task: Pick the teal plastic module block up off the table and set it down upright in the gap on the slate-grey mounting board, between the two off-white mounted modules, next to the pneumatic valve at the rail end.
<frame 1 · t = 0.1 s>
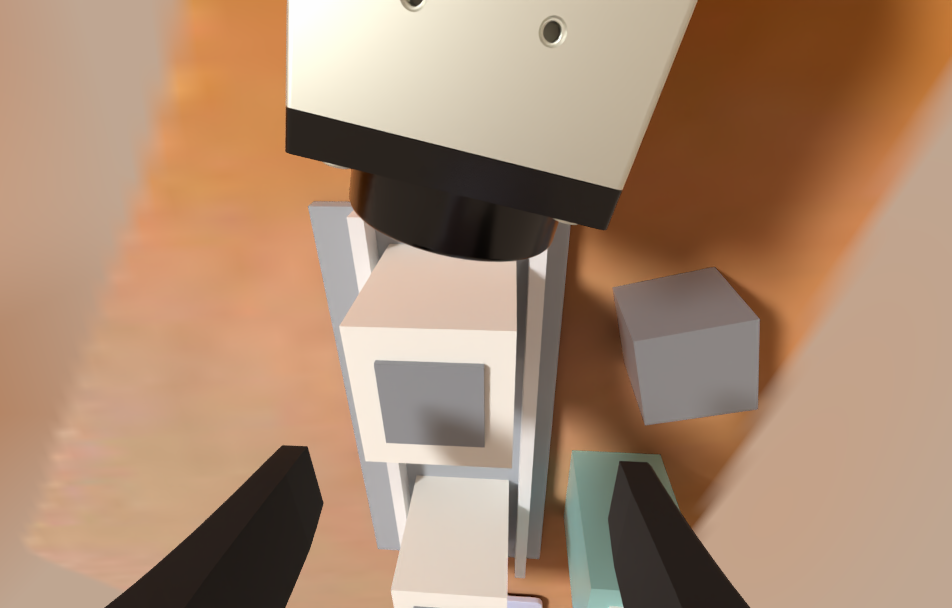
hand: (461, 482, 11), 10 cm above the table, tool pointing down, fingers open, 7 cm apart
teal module: (608, 487, 25), on the table
dark loose block: (665, 317, 20), on the table
mounting board: (451, 414, 23), on the table
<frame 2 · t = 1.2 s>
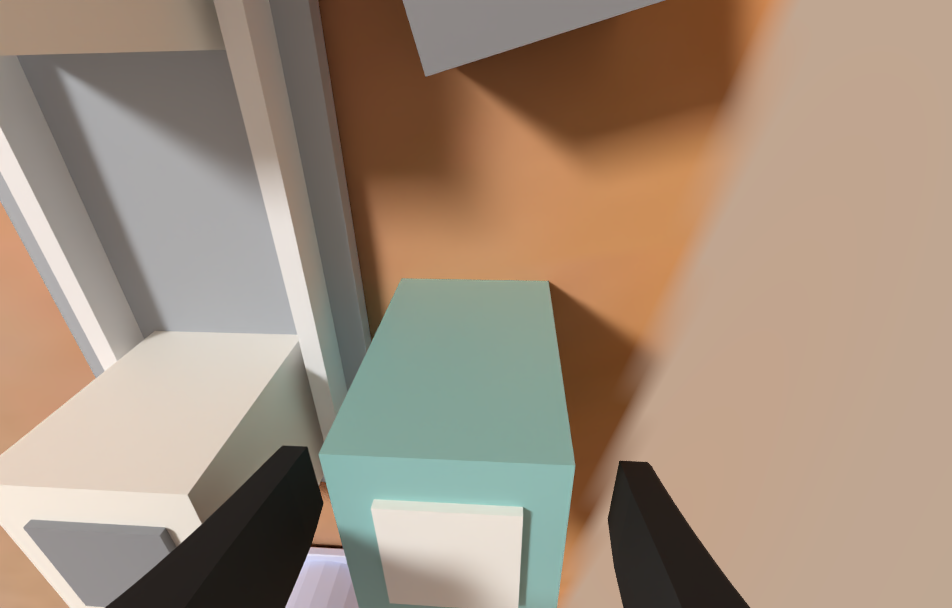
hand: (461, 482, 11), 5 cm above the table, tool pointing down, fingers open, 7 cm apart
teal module: (475, 352, 15), on the table
mounting board: (183, 206, 13), on the table
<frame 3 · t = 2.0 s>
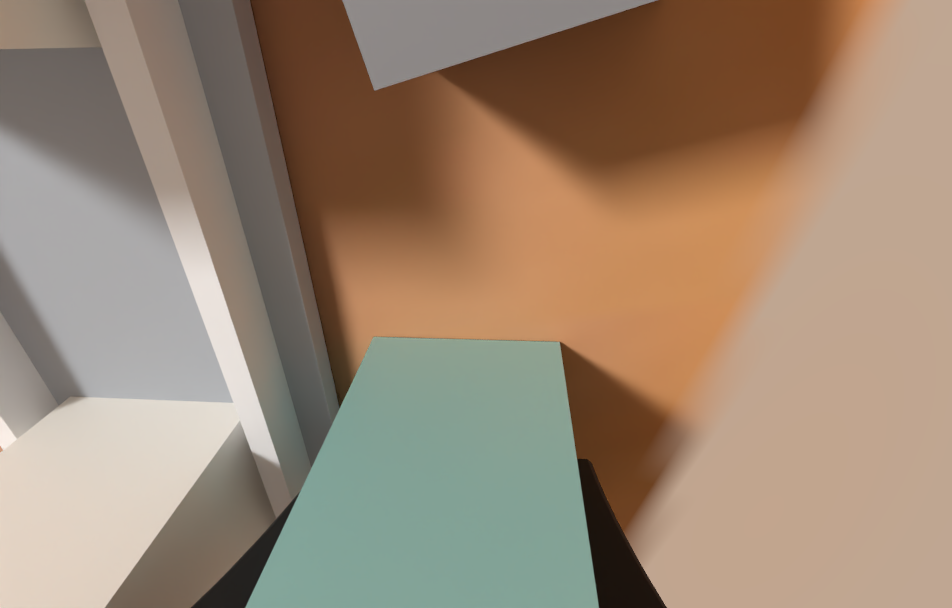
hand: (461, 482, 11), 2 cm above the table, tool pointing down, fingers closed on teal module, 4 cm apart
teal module: (468, 423, 12), on the table, touching gripper
mounting board: (93, 248, 11), on the table
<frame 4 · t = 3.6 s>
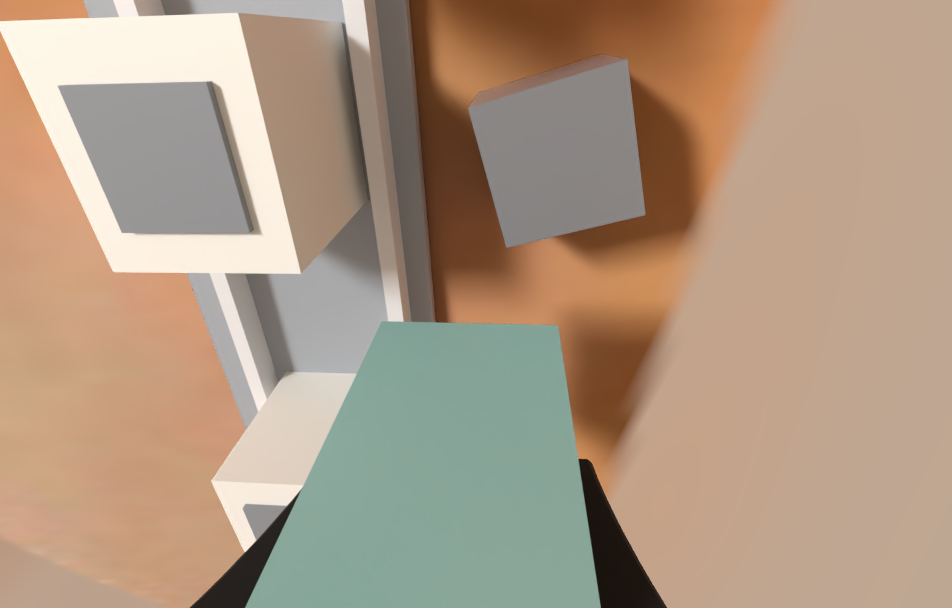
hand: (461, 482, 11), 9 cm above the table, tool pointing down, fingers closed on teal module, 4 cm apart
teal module: (471, 405, 13), point 7 cm above the table, touching gripper
dark loose block: (550, 136, 16), on the table
mounting board: (315, 288, 19), on the table
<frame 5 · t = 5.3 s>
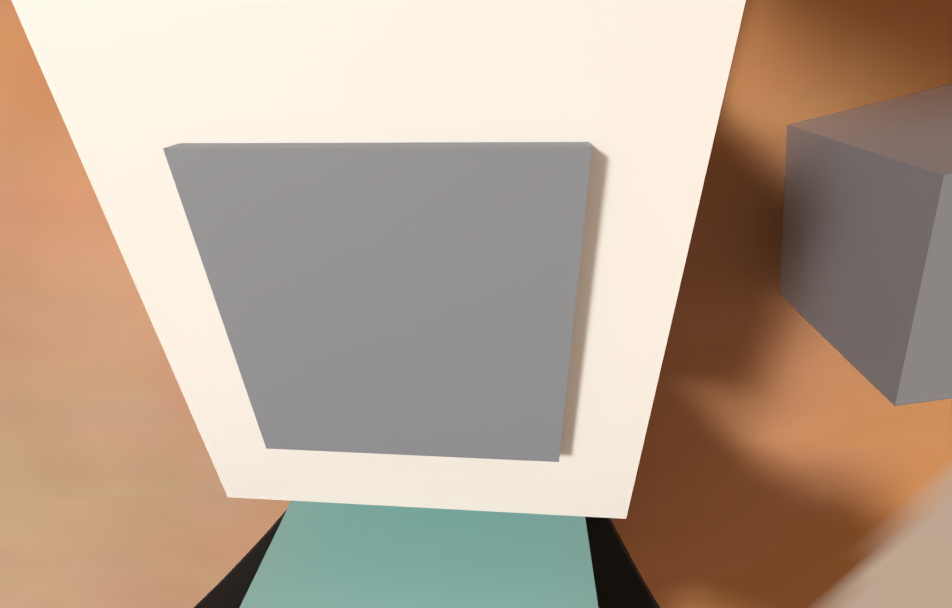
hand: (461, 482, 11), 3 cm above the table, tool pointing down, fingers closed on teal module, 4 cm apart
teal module: (468, 407, 13), point 1 cm above the table, touching gripper, mounting board
dark loose block: (882, 194, 10), on the table
mounting board: (454, 396, 13), on the table
when the fingers open (3 cm above the table, at t = 5.7 s): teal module stays where it is, resting on mounting board.
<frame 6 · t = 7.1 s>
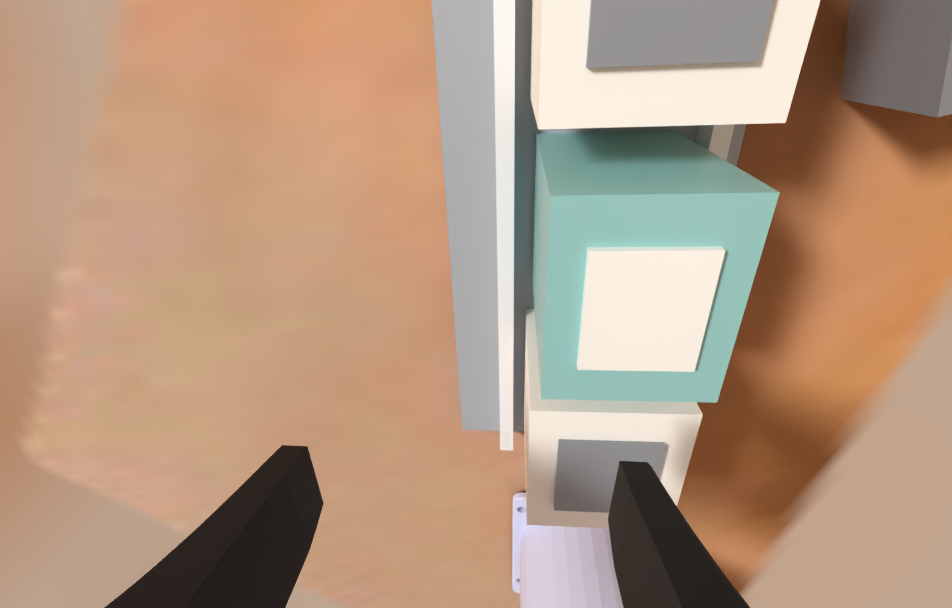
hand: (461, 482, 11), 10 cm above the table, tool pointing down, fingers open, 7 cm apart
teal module: (596, 211, 17), point 1 cm above the table, touching mounting board
dark loose block: (920, 8, 14), on the table
mounting board: (580, 209, 17), on the table
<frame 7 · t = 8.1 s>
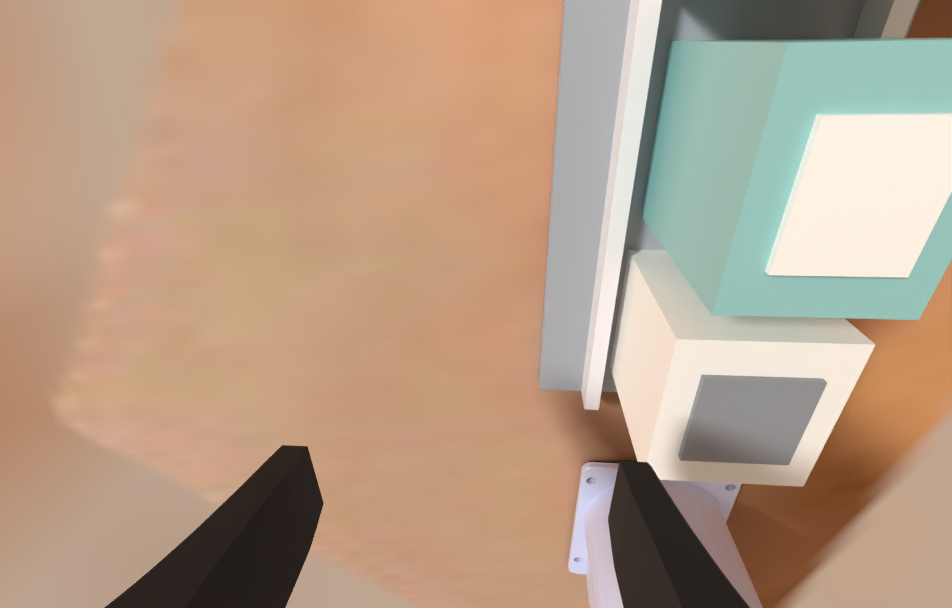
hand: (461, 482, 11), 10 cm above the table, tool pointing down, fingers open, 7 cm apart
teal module: (723, 135, 15), point 1 cm above the table, touching mounting board
mounting board: (701, 135, 16), on the table
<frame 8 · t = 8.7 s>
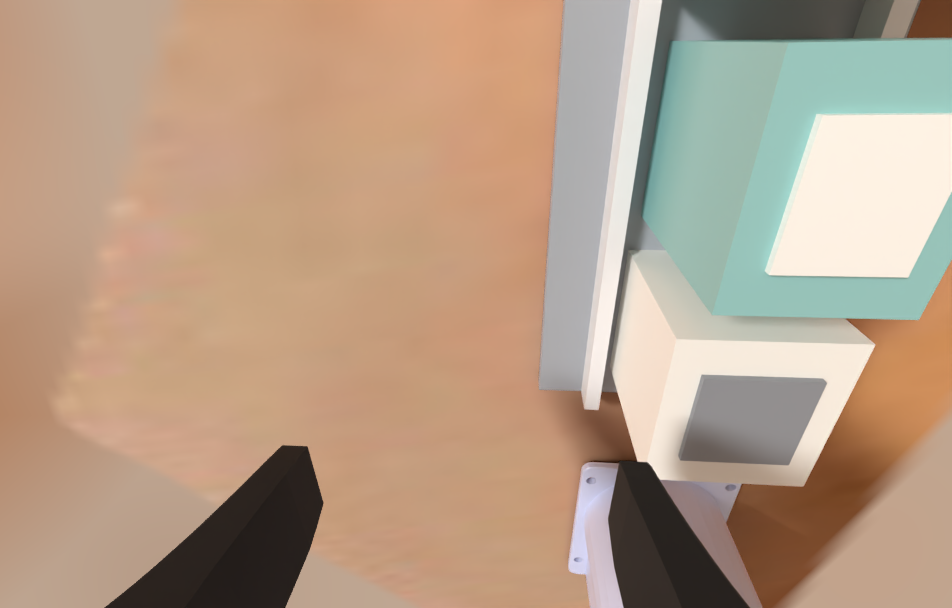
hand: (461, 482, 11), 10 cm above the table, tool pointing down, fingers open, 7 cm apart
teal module: (723, 135, 15), point 1 cm above the table, touching mounting board
mounting board: (701, 135, 16), on the table
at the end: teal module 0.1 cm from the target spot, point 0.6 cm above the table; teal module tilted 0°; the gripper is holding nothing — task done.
